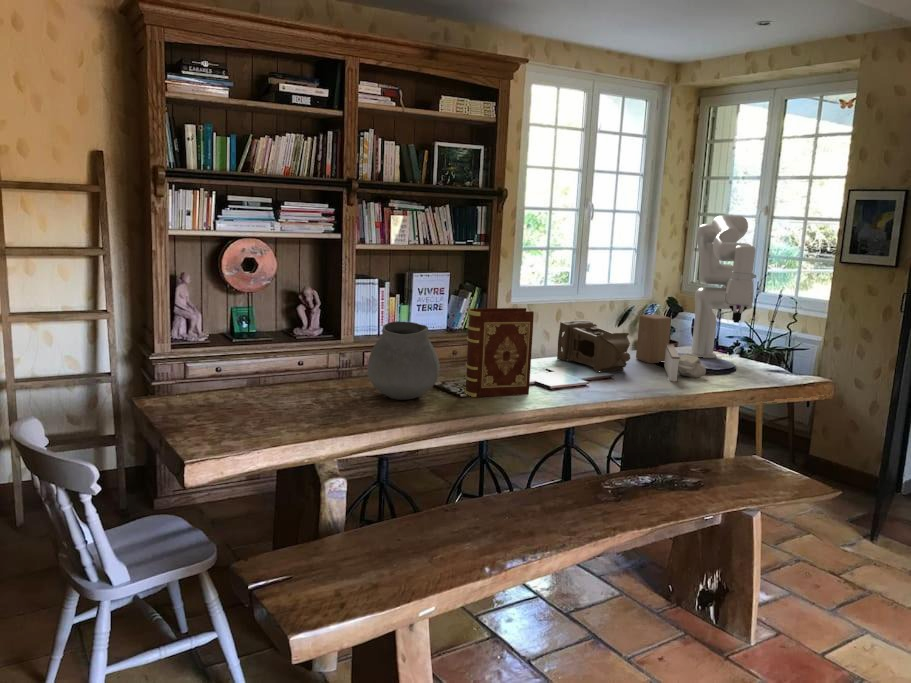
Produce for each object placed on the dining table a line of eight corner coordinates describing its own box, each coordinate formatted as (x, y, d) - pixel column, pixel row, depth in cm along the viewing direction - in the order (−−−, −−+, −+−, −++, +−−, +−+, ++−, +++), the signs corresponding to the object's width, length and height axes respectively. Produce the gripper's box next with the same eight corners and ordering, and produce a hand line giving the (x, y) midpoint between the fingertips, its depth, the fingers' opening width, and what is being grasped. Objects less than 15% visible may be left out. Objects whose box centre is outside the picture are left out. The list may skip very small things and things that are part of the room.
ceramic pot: (357, 403, 243) (358, 328, 238) (378, 385, 266) (379, 316, 261) (430, 410, 238) (432, 334, 233) (444, 391, 262) (447, 321, 257)
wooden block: (634, 359, 327) (638, 314, 323) (652, 357, 331) (657, 313, 327) (649, 364, 318) (653, 318, 314) (667, 362, 322) (672, 317, 318)
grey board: (663, 366, 316) (665, 343, 314) (670, 366, 315) (673, 344, 313) (669, 380, 290) (671, 356, 288) (677, 381, 289) (679, 357, 287)
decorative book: (468, 397, 255) (472, 311, 249) (461, 391, 262) (465, 308, 256) (529, 395, 261) (534, 311, 255) (521, 389, 268) (525, 307, 262)
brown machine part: (640, 381, 299) (649, 336, 296) (607, 379, 289) (617, 333, 287) (583, 360, 328) (591, 320, 325) (552, 358, 319) (560, 316, 316)
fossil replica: (705, 381, 293) (702, 377, 303) (709, 360, 292) (706, 357, 302) (673, 375, 296) (672, 372, 305) (677, 355, 295) (676, 352, 304)
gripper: (759, 276, 294) (753, 321, 298) (720, 274, 297) (715, 319, 301) (763, 279, 287) (757, 325, 291) (723, 276, 290) (718, 322, 294)
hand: (736, 322), depth 296 cm, fingers closed
